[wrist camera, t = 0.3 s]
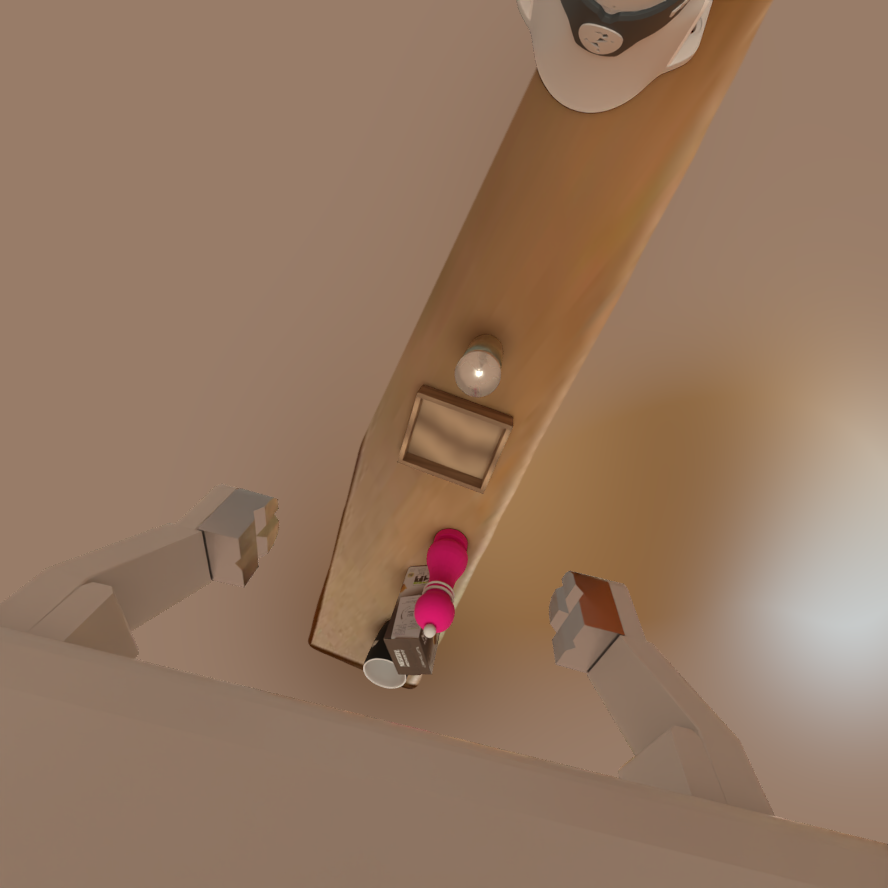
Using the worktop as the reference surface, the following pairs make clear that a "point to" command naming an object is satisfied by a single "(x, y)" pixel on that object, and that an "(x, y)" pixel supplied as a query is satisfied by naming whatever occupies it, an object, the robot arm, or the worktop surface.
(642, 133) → the worktop surface
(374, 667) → the mug
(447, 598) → the pepper mill
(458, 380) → the spice tin
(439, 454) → the crate
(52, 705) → the robot arm
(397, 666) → the coffee box
